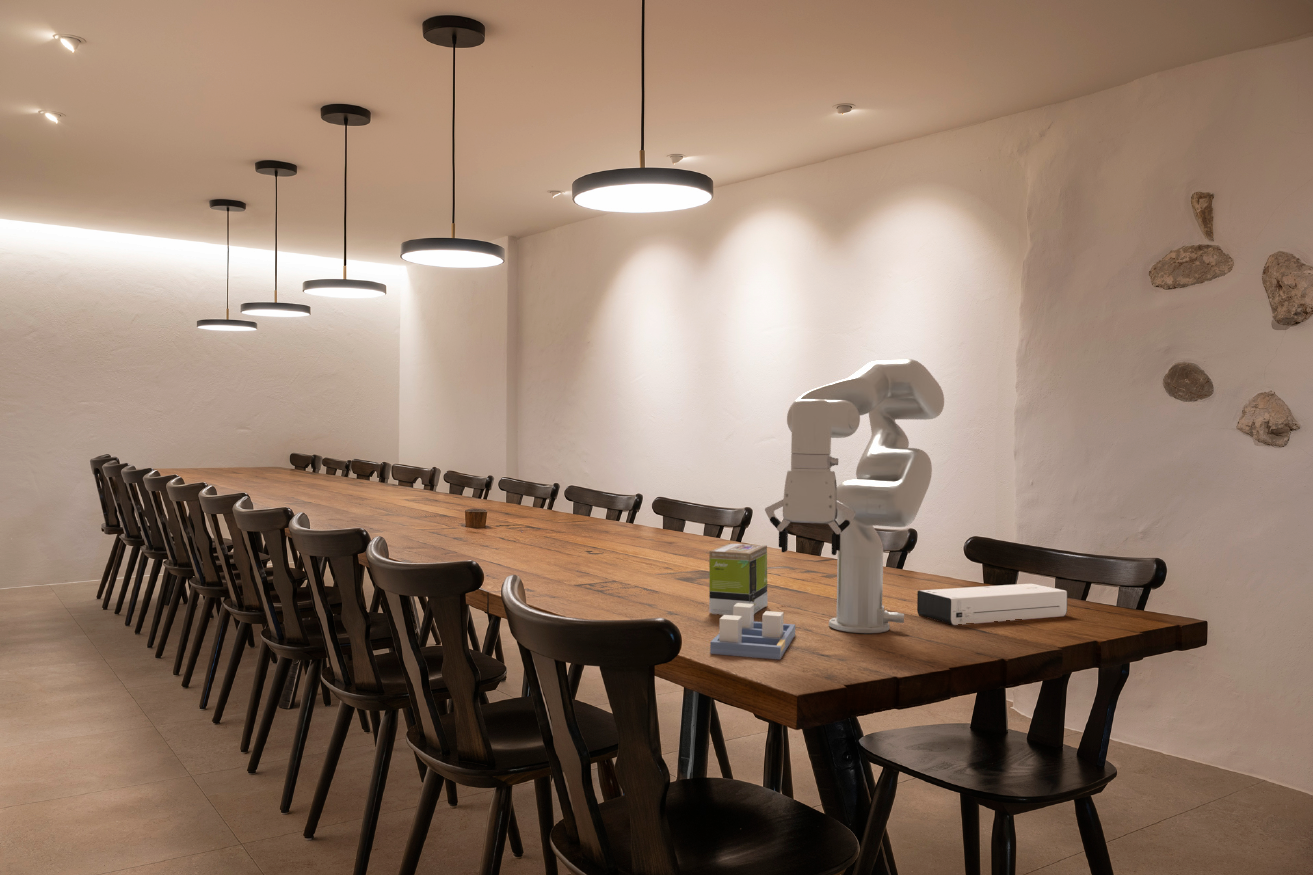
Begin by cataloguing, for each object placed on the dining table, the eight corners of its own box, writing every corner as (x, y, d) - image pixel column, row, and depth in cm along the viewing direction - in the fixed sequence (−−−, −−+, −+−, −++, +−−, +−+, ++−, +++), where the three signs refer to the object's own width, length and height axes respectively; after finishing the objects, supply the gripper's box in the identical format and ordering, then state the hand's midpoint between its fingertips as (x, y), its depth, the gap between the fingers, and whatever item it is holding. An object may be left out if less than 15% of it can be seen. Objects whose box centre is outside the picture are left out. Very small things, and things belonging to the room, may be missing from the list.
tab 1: (741, 642, 172) (742, 615, 172) (737, 646, 169) (737, 620, 169) (723, 640, 173) (724, 614, 173) (719, 645, 170) (719, 618, 170)
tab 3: (783, 637, 177) (783, 612, 177) (780, 642, 173) (780, 616, 173) (765, 636, 178) (765, 610, 178) (761, 640, 174) (762, 614, 174)
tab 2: (753, 628, 185) (754, 603, 185) (750, 632, 181) (750, 607, 181) (736, 626, 186) (737, 602, 186) (732, 630, 182) (733, 606, 182)
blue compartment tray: (795, 635, 184) (795, 624, 184) (779, 659, 164) (780, 647, 164) (732, 630, 188) (732, 619, 188) (710, 653, 168) (710, 641, 168)
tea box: (728, 602, 219) (729, 542, 219) (768, 606, 215) (769, 544, 215) (707, 614, 205) (708, 549, 205) (750, 618, 201) (751, 551, 201)
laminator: (1030, 608, 220) (1031, 583, 220) (1071, 618, 209) (1071, 591, 209) (916, 617, 207) (917, 590, 207) (953, 628, 196) (953, 599, 196)
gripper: (858, 464, 174) (856, 553, 174) (769, 462, 179) (767, 548, 179) (855, 465, 167) (853, 557, 167) (762, 463, 172) (761, 552, 172)
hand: (809, 552), depth 173 cm, fingers open, 9 cm apart
